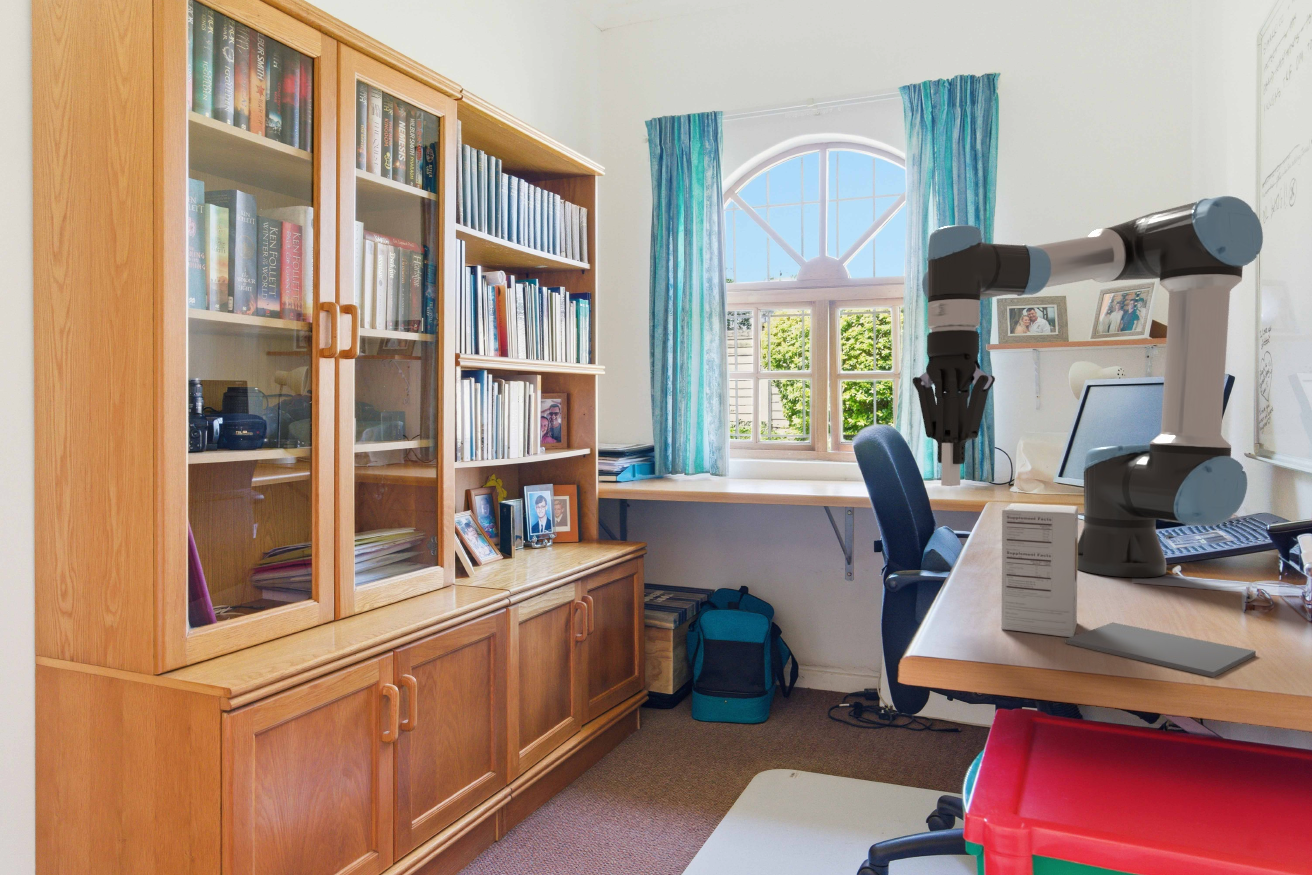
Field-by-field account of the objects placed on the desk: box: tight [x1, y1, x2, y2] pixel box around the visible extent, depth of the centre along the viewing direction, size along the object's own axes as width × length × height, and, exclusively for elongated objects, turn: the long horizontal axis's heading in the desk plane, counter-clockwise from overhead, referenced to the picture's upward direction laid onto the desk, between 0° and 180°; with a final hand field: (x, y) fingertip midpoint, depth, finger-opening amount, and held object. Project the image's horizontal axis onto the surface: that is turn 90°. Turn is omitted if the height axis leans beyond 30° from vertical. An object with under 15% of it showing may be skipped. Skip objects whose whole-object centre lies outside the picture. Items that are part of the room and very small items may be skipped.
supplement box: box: [1000, 502, 1079, 638], centre depth 117 cm, size 10×9×17 cm
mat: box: [1065, 622, 1256, 678], centre depth 106 cm, size 13×17×1 cm
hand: (950, 485), depth 128 cm, fingers closed
